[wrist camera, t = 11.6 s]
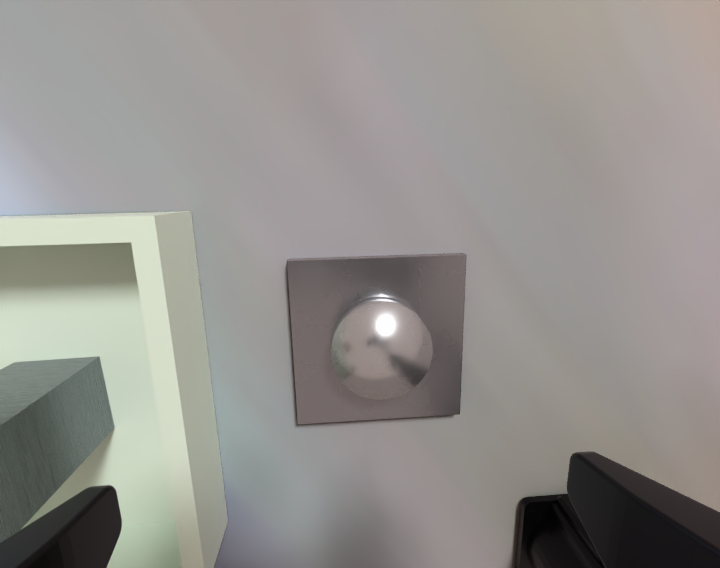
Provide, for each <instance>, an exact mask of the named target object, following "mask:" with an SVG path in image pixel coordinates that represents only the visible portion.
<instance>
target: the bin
mask: <svg viewBox="0 0 720 568" xmlns="http://www.w3.org/2000/svg"><path fill="white" fill-rule="evenodd" d="M97 356H100V361H101V366H102V370H103V375H104V380H105V384H106V389H107V394H108V398H109V403H110V408H111V412H112V417H113V422H114V427H115V428H114V429H113V430H112V431H111V433H110V434H109V435H108V436H107V437H106V438H105V439H104V440H103V441H102V442H101V443H100V444H99V446H98V447H97V448H96V449H95V450H94V451H93V452H92V453H91V454H90V455H89V456H88V457H87V458H86V460H85V461H84V462H83V463H82V464H81V465H80V466H79V467H78V468H77V469H76V470H75V471H74V473H73V474H72V475H71V476H70V477H69V478H68V479H67V480H66V481H65V482H64V483H63V484H62V485H61V487H60V488H59V489H58V490H57V491H56V492H55V493H54V494H53V495H52V496H51V497H50V498H49V499H48V501H47V502H46V503H45V504H44V505H43V506H42V507H41V508H40V509H39V510H38V511H37V512H36V514H35V515H34V516H33V517H32V518H31V519H30V520H29V521H28V522H27V523H26V524H25V525H24V526H23V528H24V527H26V526H27V525H29V524H30V523H32V522H34V521H35V520H37V519H38V518H40V517H42V516H43V515H45V514H46V513H48V512H50V511H51V510H53V509H54V508H56V507H57V506H59V505H61V504H62V503H64V502H65V501H67V500H69V499H70V498H72V497H73V496H75V495H77V494H78V493H80V492H81V491H83V490H84V489H86V488H88V487H91V486H102V485H111V486H113V487H114V488H115V489H116V492H117V497H118V502H119V508H120V513H121V518H122V528H121V533H120V536H119V539H118V541H117V543H116V546H115V548H114V551H113V553H112V556H111V558H110V561H109V563H108V566H107V568H214V565H215V562H216V559H217V556H218V552H219V549H220V546H221V543H222V540H223V536H224V533H225V530H226V527H227V524H228V515H227V507H226V498H225V490H224V482H223V473H222V465H221V457H220V448H219V440H218V432H217V423H216V415H215V407H214V399H213V390H212V382H211V374H210V365H209V357H208V349H207V340H206V332H205V324H204V315H203V307H202V299H201V290H200V282H199V274H198V265H197V257H196V249H195V240H194V232H193V224H192V215H191V211H177V212H137V213H97V214H58V215H18V216H0V370H1V369H3V368H5V367H6V366H8V365H10V364H12V363H14V362H24V361H39V360H53V359H68V358H83V357H97ZM23 528H22V529H23Z"/></svg>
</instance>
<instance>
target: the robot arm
mask: <svg viewBox="0 0 720 568" xmlns="http://www.w3.org/2000/svg"><path fill="white" fill-rule="evenodd" d="M567 492H568V494H563V495H550V496H537V497H528V498H526V499H524V500H523V501H522V504H521V512H520V524H519V536H518V547H517V559H516V568H720V512H718V511H716V510H714V509H712V508H710V507H707V506H705V505H703V504H701V503H699V502H697V501H695V500H693V499H691V498H689V497H687V496H685V495H683V494H680V493H678V492H676V491H674V490H672V489H670V488H668V487H666V486H664V485H662V484H660V483H658V482H656V481H654V480H651V479H649V478H647V477H645V476H643V475H641V474H639V473H637V472H635V471H633V470H631V469H629V468H627V467H625V466H622V465H620V464H618V463H616V462H614V461H612V460H610V459H608V458H606V457H604V456H602V455H600V454H598V453H595V452H576V453H574V454H572V456H571V458H570V464H569V472H568V481H567ZM530 506H531V507H530ZM121 528H122V518H121V513H120V508H119V502H118V497H117V492H116V489H115V488H114V487H113V486H111V485H102V486H91V487H88V488H86V489H84V490H83V491H81V492H80V493H78V494H77V495H75V496H73V497H72V498H70V499H69V500H67V501H65V502H64V503H62V504H61V505H59V506H57V507H56V508H54V509H53V510H51V511H50V512H48V513H46V514H45V515H43V516H42V517H40V518H38V519H37V520H35V521H34V522H32V523H30V524H29V525H27V526H26V527H24V528H23V529H21V530H19V531H18V532H16V533H15V534H13V535H11V536H10V537H8V538H7V539H5V540H3V541H2V542H0V568H107V566H108V563H109V561H110V558H111V556H112V553H113V551H114V548H115V546H116V543H117V541H118V539H119V536H120V533H121Z"/></svg>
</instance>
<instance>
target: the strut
mask: <svg viewBox="0 0 720 568" xmlns="http://www.w3.org/2000/svg"><path fill="white" fill-rule="evenodd" d="M114 428H115V427H114V422H113V417H112V412H111V408H110V403H109V398H108V394H107V389H106V384H105V380H104V375H103V370H102V366H101V361H100V356H97V357H83V358H68V359H53V360H39V361H24V362H14V363H12V364H10V365H8V366H6V367H5V368H3V369H1V370H0V542H2V541H3V540H5V539H7V538H8V537H10V536H11V535H13V534H15V533H16V532H18V531H19V530H21V529H22V528H23V526H24V525H25V524H26V523H27V522H28V521H29V520H30V519H31V518H32V517H33V516H34V515H35V514H36V512H37V511H38V510H39V509H40V508H41V507H42V506H43V505H44V504H45V503H46V502H47V501H48V499H49V498H50V497H51V496H52V495H53V494H54V493H55V492H56V491H57V490H58V489H59V488H60V487H61V485H62V484H63V483H64V482H65V481H66V480H67V479H68V478H69V477H70V476H71V475H72V474H73V473H74V471H75V470H76V469H77V468H78V467H79V466H80V465H81V464H82V463H83V462H84V461H85V460H86V458H87V457H88V456H89V455H90V454H91V453H92V452H93V451H94V450H95V449H96V448H97V447H98V446H99V444H100V443H101V442H102V441H103V440H104V439H105V438H106V437H107V436H108V435H109V434H110V433H111V431H112V430H113V429H114Z"/></svg>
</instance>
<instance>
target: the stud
mask: <svg viewBox="0 0 720 568" xmlns="http://www.w3.org/2000/svg"><path fill="white" fill-rule="evenodd" d="M287 269H288V284H289V299H290V314H291V330H292V345H293V360H294V375H295V390H296V405H297V420H298V424H311V423H327V422H343V421H359V420H376V419H392V418H408V417H424V416H440V415H456V414H460V398H461V374H462V349H463V325H464V301H465V276H466V255H465V254H463V253H454V254H425V255H395V256H365V257H335V258H306V259H288V260H287Z"/></svg>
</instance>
